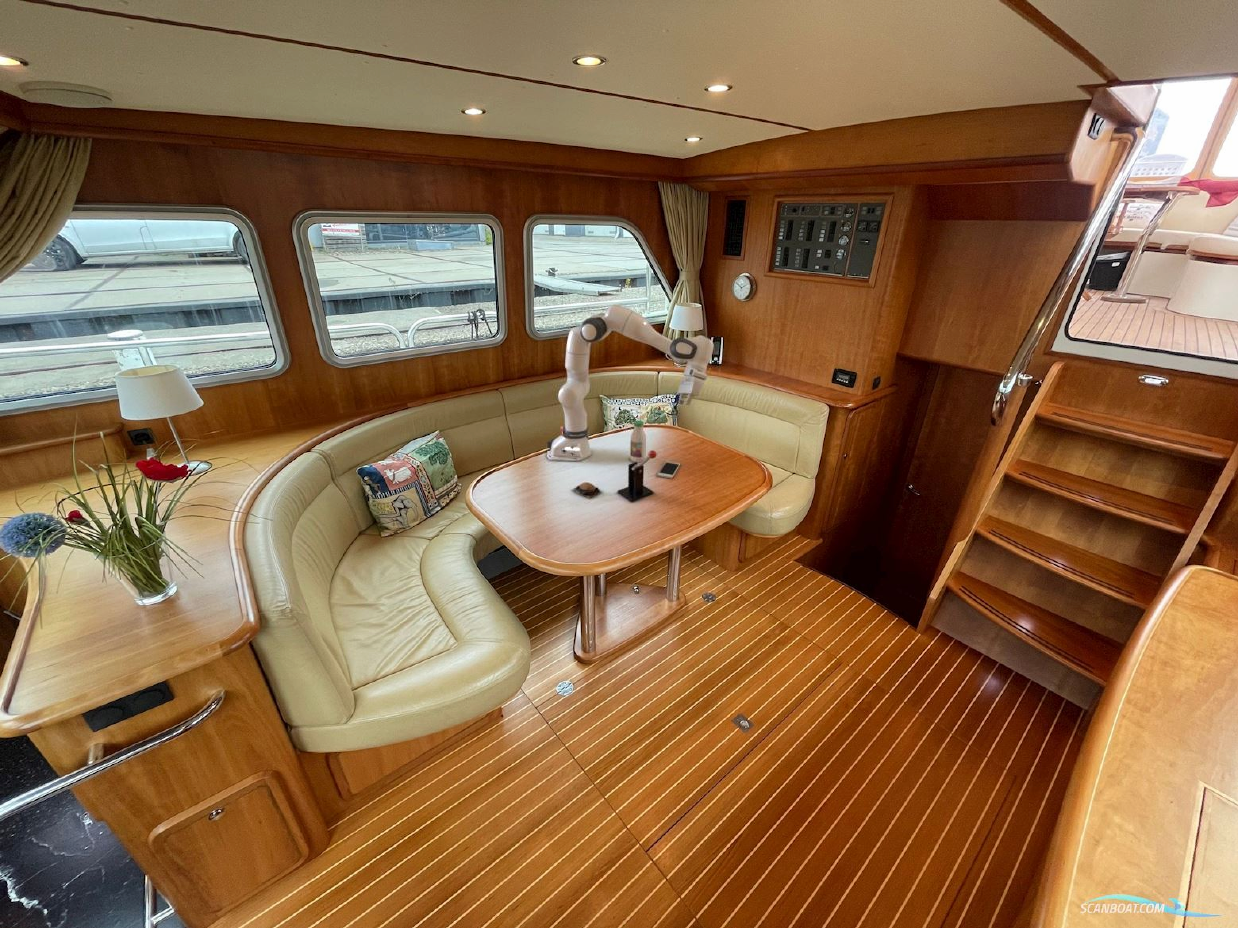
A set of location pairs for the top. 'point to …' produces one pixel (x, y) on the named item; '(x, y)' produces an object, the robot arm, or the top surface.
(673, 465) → the smartphone
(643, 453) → the milk bottle
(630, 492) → the bracket
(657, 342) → the robot arm
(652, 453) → the lever
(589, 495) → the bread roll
